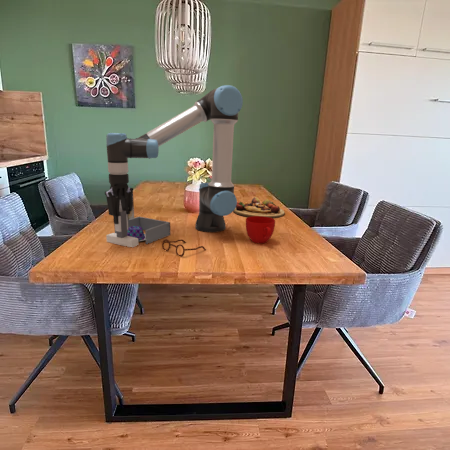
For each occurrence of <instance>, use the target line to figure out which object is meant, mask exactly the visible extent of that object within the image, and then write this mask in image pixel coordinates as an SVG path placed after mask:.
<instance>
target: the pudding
mask: <svg viewBox="0 0 450 450" xmlns="http://www.w3.org/2000/svg"><path fill="white" fill-rule="evenodd" d="M144 232H145V231H144V230H143V229H142V227H140V226H131V227H129V228H128V232H127V236H130V237H135V238H138V242H143V241H146V234H145V233H144Z"/></svg>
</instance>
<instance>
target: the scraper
mask: <svg viewBox="0 0 450 450" xmlns="http://www.w3.org/2000/svg"><path fill="white" fill-rule="evenodd" d="M119 216H121V231H122V232H118V231H116V232H117V233H115V232H112V233H111V232H110V233H109V234H106V236H105V237H106V243H110V244H115V245H119V246H122V247H126V246H127V247H126V248H130V247H132V248H135V247H137V245H138V246H139V245H140V244H139V241H138V238H135V237H130V236H127V218H126V211H125V210H119Z"/></svg>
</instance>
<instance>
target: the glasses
mask: <svg viewBox="0 0 450 450" xmlns="http://www.w3.org/2000/svg"><path fill="white" fill-rule="evenodd" d="M178 242H182V243H184V244H185V243H187V241H185V240H184V239H177V240H169V239H167V238H166V239H163V240H162V244H161V247H162V250H163V249H164V250H166V251H165V252H169V250H170V248H171V246H172V247H174V248H175V254H176V256H177V255H179V256H181V257H180V258H182V257H183V256H184V255H185V253H186V252H187V251H197V250H198V249H201V248H202V249H203V250H204V251H207V249H206V248H205V247H204V246H203V245H200V246H197V247H193V248H185V245H184V244H180V243H179V244H177V245H176V244H174V243H178ZM164 244H168V247H167V249H165V247H164V246H165V245H164ZM179 247H181V248H182V252H181V253H182V254H179V252H178V249H179ZM164 250H163V251H164ZM179 256H178V257H179Z"/></svg>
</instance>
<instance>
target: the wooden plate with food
mask: <svg viewBox="0 0 450 450" xmlns="http://www.w3.org/2000/svg"><path fill="white" fill-rule="evenodd" d="M233 213H235V214H236V215H238V216H241V217H246V218H247V217H251V216H264V217H269V218H273V219H278V218H282V217H284V216H285V210H284V209H282V208H280V206H279V205H276V203H274V202H273V201H272V200H270V199H269V198H266V199H264V200H263V201H262V202H261V201H260V199H259V198H258V197H256V196H255V197H253V198H252V199H251V202H247V201H246V202H242V201H238V200H237V205H236V208H235V210H234V211H233Z"/></svg>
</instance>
